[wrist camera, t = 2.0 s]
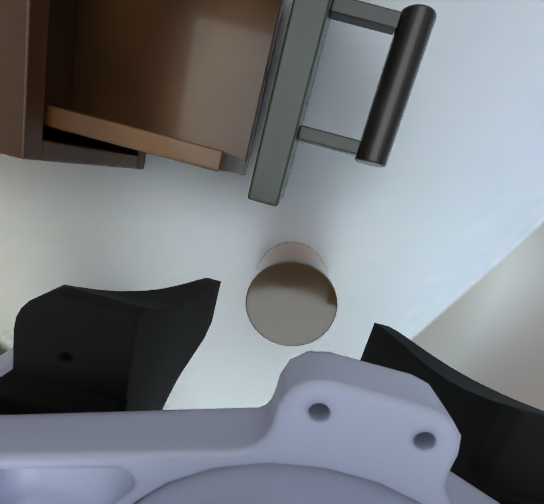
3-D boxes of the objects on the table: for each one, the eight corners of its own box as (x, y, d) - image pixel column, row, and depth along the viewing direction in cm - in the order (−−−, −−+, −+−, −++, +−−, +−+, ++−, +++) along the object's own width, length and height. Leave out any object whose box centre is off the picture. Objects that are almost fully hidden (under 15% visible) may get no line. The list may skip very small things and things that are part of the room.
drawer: (419, -1, 15) (521, -147, 8) (349, 215, 18) (384, 235, 11) (87, -87, 15) (-76, -300, 8) (69, 141, 18) (-62, 116, 11)
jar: (325, 307, 20) (335, 347, 15) (257, 306, 20) (246, 345, 16) (327, 241, 19) (339, 261, 14) (256, 241, 19) (244, 260, 14)
